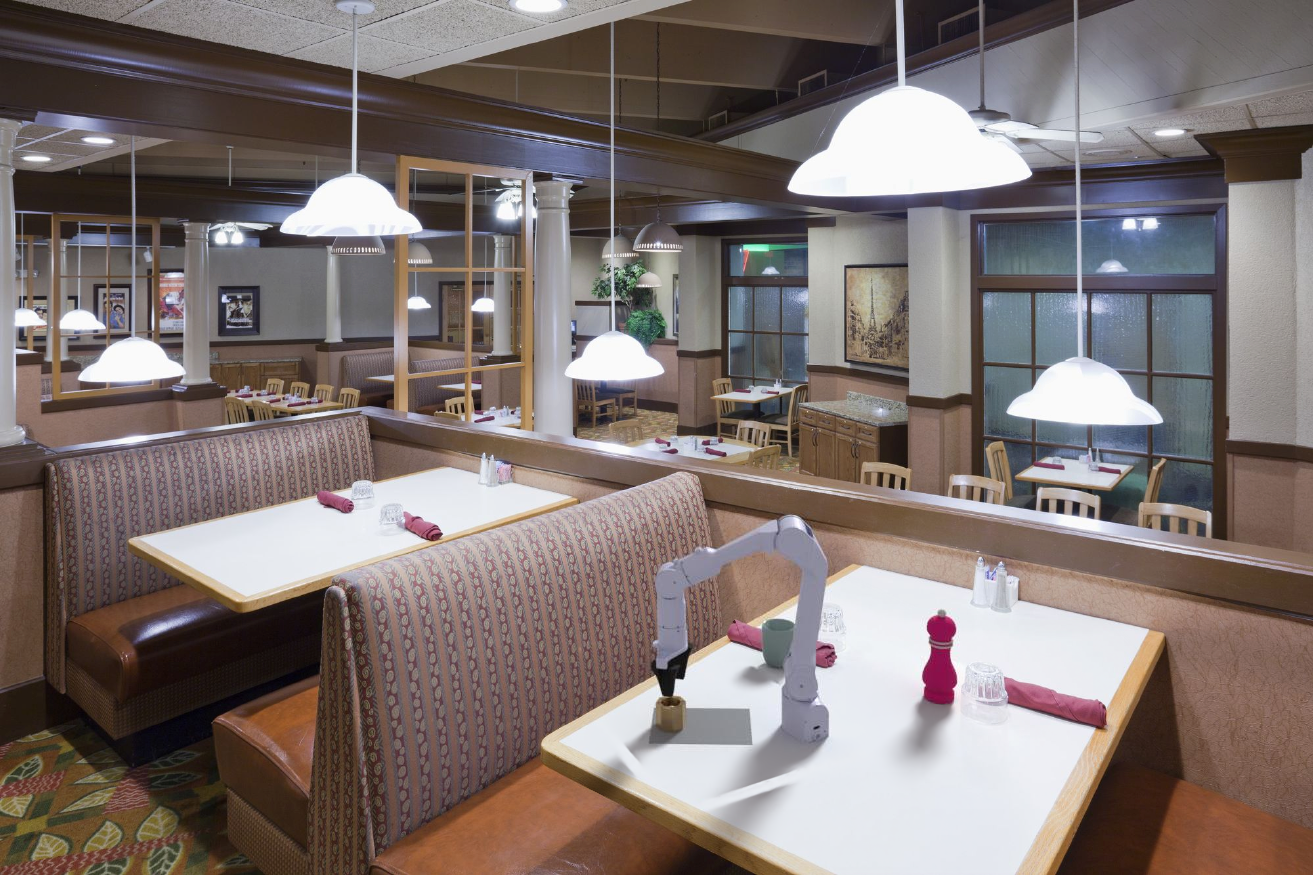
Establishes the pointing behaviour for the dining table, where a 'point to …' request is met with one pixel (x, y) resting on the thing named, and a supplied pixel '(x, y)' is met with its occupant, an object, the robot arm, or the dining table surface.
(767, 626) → the cup
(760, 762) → the dining table surface
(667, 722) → the bronze ring
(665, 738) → the slate block
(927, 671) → the pepper mill
